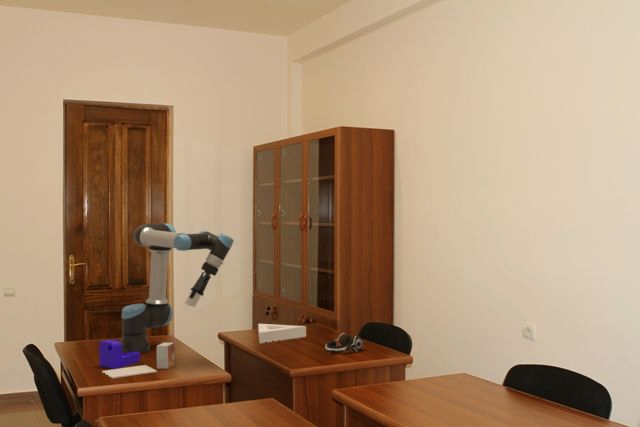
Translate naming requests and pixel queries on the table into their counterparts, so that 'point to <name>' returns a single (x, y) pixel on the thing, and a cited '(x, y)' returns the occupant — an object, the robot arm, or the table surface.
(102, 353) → the bracket
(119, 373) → the mat
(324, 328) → the table surface
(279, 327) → the triangular ruler
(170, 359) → the small box
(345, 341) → the headset
